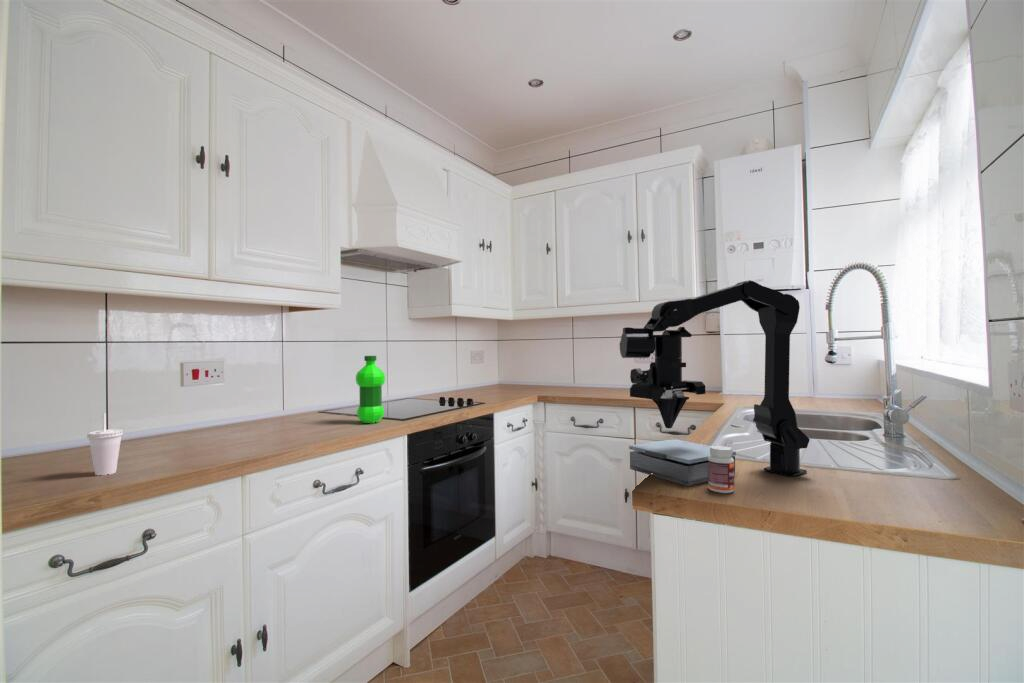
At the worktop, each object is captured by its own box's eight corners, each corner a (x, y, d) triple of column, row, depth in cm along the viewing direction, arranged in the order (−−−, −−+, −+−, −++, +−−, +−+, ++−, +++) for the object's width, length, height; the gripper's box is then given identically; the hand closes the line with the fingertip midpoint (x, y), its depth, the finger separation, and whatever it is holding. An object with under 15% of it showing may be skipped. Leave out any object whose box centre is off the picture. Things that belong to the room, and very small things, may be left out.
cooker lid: (674, 442, 119) (674, 439, 119) (735, 455, 105) (735, 451, 105) (626, 449, 110) (626, 446, 110) (685, 464, 96) (685, 460, 96)
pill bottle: (735, 494, 92) (734, 451, 92) (708, 492, 93) (708, 449, 93) (733, 487, 96) (733, 446, 96) (708, 485, 98) (707, 444, 98)
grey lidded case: (675, 459, 119) (675, 443, 119) (735, 474, 105) (735, 456, 105) (629, 469, 110) (629, 451, 111) (688, 486, 97) (688, 466, 97)
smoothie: (80, 478, 106) (80, 415, 106) (96, 470, 112) (96, 411, 112) (115, 475, 108) (114, 414, 108) (128, 468, 114) (128, 410, 114)
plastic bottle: (372, 425, 171) (371, 356, 171) (350, 423, 176) (349, 356, 176) (390, 421, 180) (390, 355, 180) (369, 419, 185) (368, 355, 185)
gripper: (667, 356, 118) (667, 419, 118) (611, 357, 108) (612, 426, 108) (706, 357, 108) (707, 426, 108) (649, 359, 98) (650, 434, 98)
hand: (668, 428), depth 106 cm, fingers closed
